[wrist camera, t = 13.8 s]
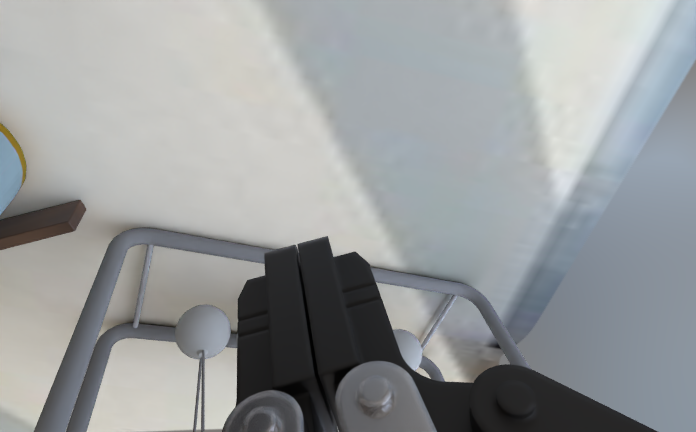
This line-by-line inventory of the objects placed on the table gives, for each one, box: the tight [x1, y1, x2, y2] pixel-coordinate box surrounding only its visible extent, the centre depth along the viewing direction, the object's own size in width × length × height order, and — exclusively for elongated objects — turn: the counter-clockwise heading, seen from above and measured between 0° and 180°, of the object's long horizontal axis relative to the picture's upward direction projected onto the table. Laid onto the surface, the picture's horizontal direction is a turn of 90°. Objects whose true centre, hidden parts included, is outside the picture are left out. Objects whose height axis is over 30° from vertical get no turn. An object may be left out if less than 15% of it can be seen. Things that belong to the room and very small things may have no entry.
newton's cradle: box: [34, 228, 531, 432], centre depth 31 cm, size 30×10×18 cm, turn 69°
